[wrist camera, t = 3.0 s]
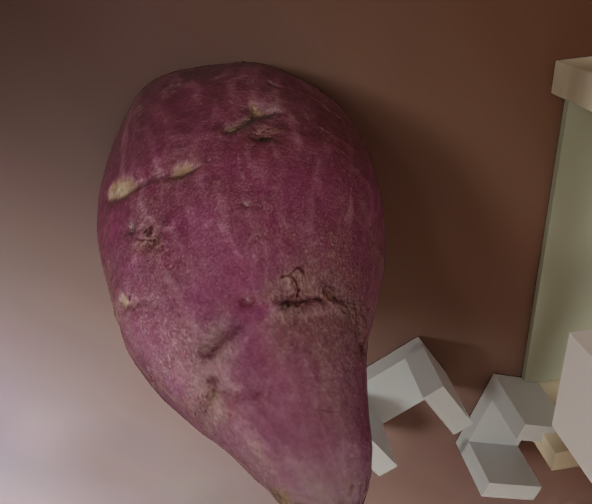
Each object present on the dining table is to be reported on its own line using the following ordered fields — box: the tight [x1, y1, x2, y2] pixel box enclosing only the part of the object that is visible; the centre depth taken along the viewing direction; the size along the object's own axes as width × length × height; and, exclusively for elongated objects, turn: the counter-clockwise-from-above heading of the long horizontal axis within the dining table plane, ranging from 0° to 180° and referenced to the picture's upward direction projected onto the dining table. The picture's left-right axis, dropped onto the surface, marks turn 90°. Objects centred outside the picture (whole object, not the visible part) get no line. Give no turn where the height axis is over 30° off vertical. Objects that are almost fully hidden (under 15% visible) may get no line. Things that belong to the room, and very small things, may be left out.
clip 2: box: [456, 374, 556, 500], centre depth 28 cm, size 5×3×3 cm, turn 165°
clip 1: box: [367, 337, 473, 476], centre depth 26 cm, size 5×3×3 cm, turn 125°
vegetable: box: [97, 61, 386, 504], centre depth 17 cm, size 10×10×15 cm
